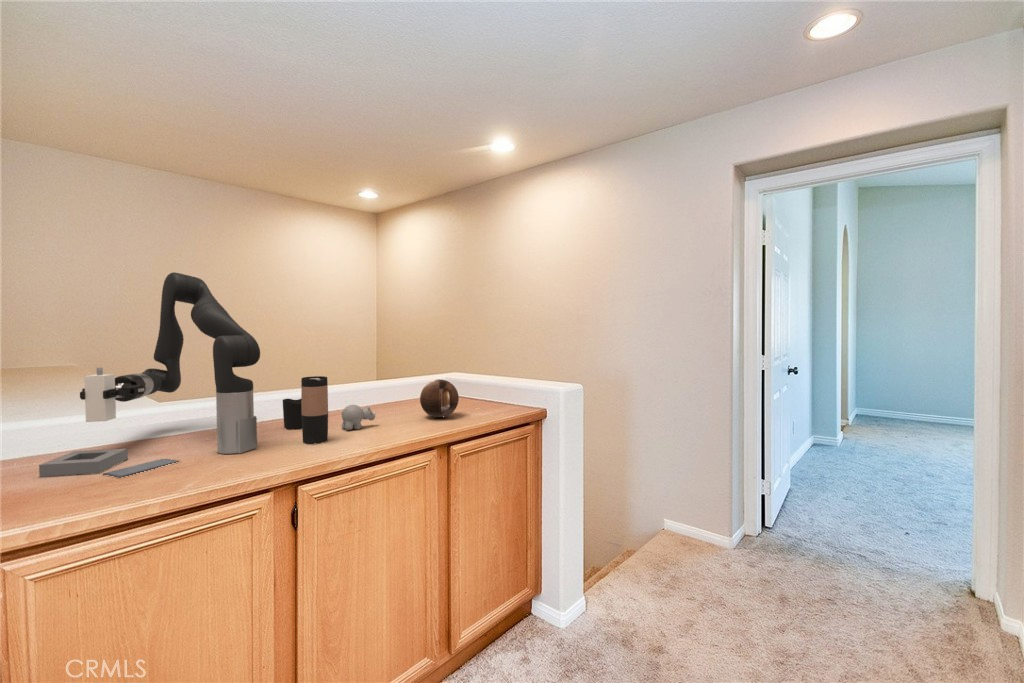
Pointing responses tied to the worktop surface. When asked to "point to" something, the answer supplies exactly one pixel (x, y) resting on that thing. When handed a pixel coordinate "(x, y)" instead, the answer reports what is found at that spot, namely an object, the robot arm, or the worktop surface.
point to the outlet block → (83, 462)
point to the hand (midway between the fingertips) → (93, 395)
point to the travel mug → (314, 409)
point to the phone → (140, 468)
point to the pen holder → (292, 413)
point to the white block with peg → (99, 397)
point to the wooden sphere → (439, 398)
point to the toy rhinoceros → (356, 416)
